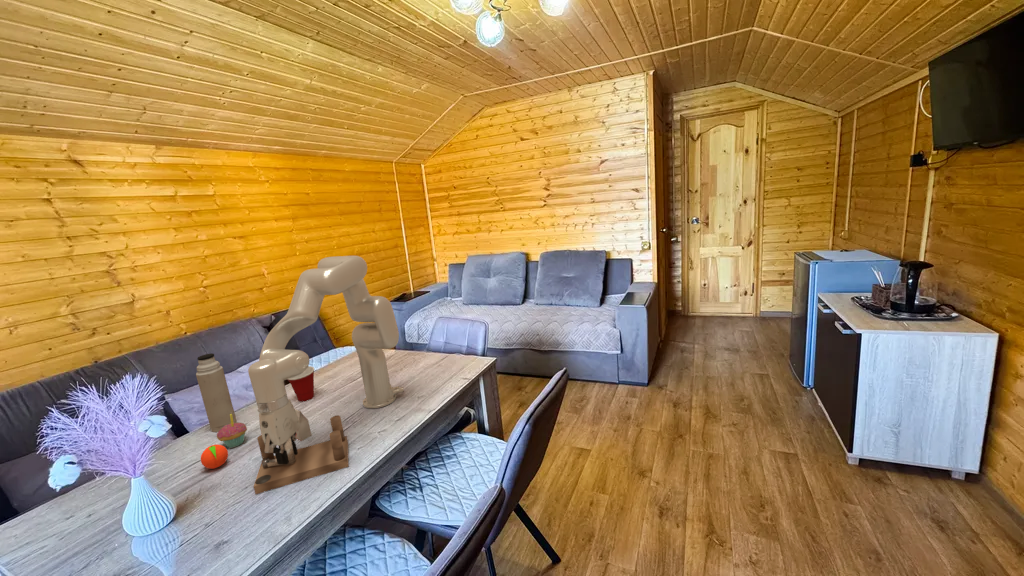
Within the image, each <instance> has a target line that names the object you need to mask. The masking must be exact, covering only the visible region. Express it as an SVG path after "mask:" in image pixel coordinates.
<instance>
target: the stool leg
mask: <svg viewBox="0 0 1024 576" xmlns="http://www.w3.org/2000/svg"><path fill="white" fill-rule="evenodd" d="M283 447H284V451H286V453H287V456H288V460H289V463H288V464H284V465H285V466H287V465H291V464H293V463H294V462H295V461H296V459H295V454H294V450H293V446H292V441H291V437H290V438H289V439H288V440H287V441H286V442H285V443H283ZM261 462H262V466H263V468H266V467H270V466H277V465H283V464H278V463H277V459H273V460H269V458H265V459H263V460H261Z"/></svg>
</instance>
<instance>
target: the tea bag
mask: <svg viewBox="0 0 1024 576" xmlns="http://www.w3.org/2000/svg"><path fill="white" fill-rule="evenodd" d="M294 409H295V411H296V414H297V417H298V420H299V424H300V427H299V429H298V430H297V431H296V435H295V437H296V440H297V439H298V441H299V440H300V442H303V441H304V440H306V439H309V438H310V437H312V436H313V435H312V431H311V427H310V421H309V419H308V418H307V417H306V416H305V415H304V414H303V412H302V411H301V410H298V409H296V408H294Z"/></svg>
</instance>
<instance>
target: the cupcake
mask: <svg viewBox="0 0 1024 576" xmlns="http://www.w3.org/2000/svg"><path fill="white" fill-rule="evenodd" d="M230 419H231V423H230V424H228V425H225V426H224V427H223V428H221V429H220V430H219V432H216V438H217V440H218V441H220V442H223V443H224V444H225V445H226V447H227V448H230V449H231V447H232V448H235V447H239V446H240V445H242V444H243V443H244V441H245V436H246V435H245V434H246V432H247V431H248V427H247V425H246V424H245V423H244V422H238V421H237V423H233V416H232V414H230Z"/></svg>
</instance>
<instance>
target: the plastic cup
mask: <svg viewBox="0 0 1024 576" xmlns="http://www.w3.org/2000/svg"><path fill="white" fill-rule="evenodd" d="M314 373H315V367H314V366H310V365H309V366H308V368H307V369H306V370H305V371H304V372H303V373H301V374H300V375H298V376H295V377H292V378H289V379H286V380H287V381H288V383H289V384H290V386H291V388H292V389H293V391H294V394H295V396H296V398H297V400H298V402H300V403H303V401H304V402H308V401H311V400H312V399H313V398H315V397H314V395H315V390H314V389H315V382H314V378H315V377H314V376H315V375H314ZM307 400H308V401H307Z"/></svg>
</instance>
